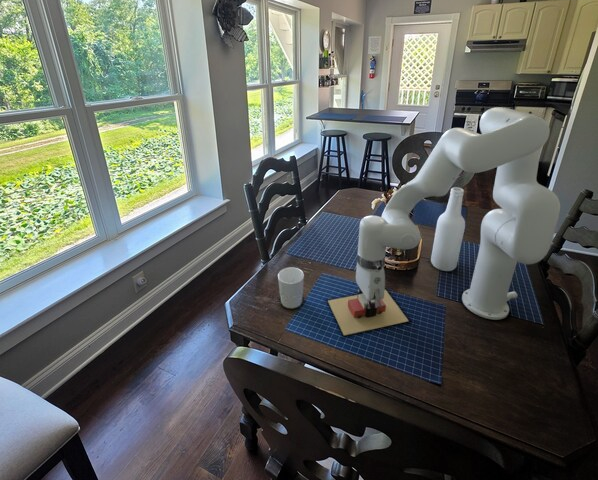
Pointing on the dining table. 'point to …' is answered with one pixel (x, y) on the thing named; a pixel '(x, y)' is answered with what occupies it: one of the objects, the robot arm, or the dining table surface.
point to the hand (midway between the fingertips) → (366, 308)
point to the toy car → (362, 306)
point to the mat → (363, 324)
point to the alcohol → (449, 233)
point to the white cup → (291, 287)
